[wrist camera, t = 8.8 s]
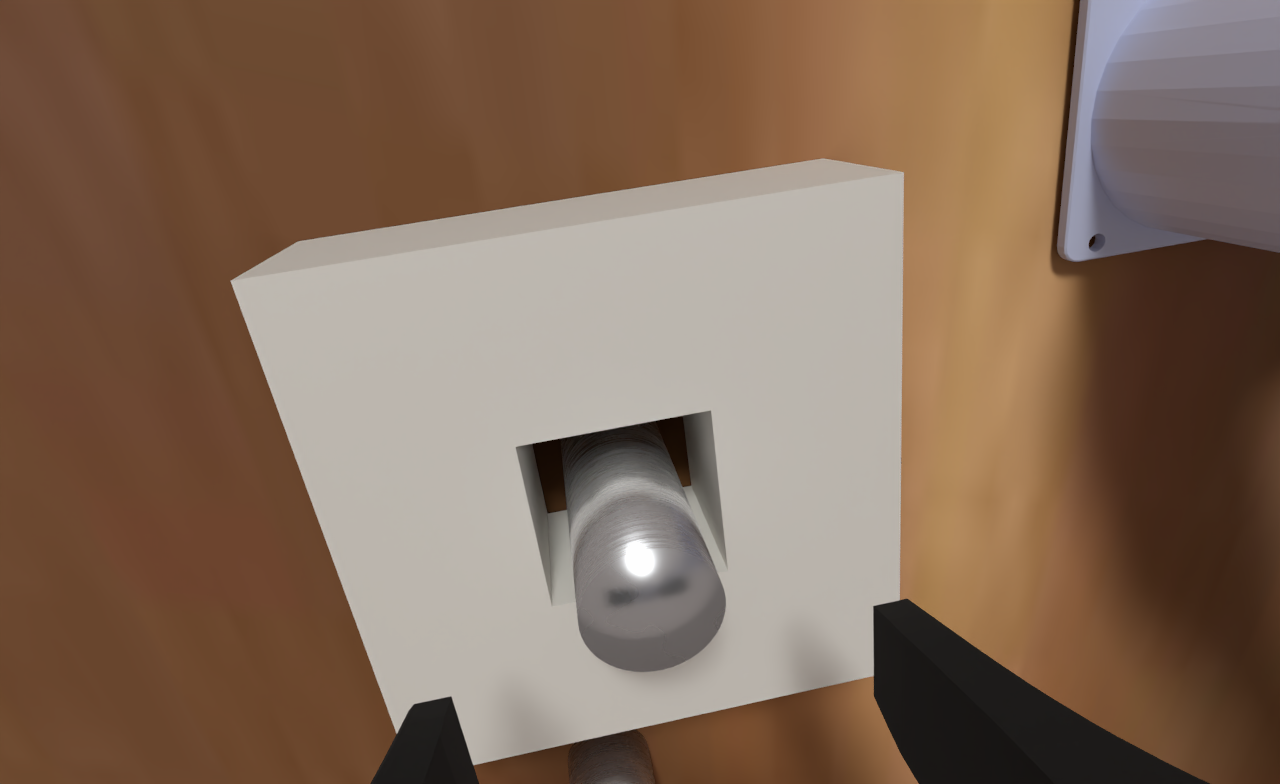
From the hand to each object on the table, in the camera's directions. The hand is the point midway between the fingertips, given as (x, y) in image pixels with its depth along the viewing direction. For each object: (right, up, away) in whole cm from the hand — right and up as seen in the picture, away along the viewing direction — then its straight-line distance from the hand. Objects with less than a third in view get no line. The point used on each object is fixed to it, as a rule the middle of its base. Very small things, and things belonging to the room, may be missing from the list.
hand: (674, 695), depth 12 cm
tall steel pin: (-1, +4, +10) cm, 10 cm away
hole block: (-1, +4, +10) cm, 10 cm away
